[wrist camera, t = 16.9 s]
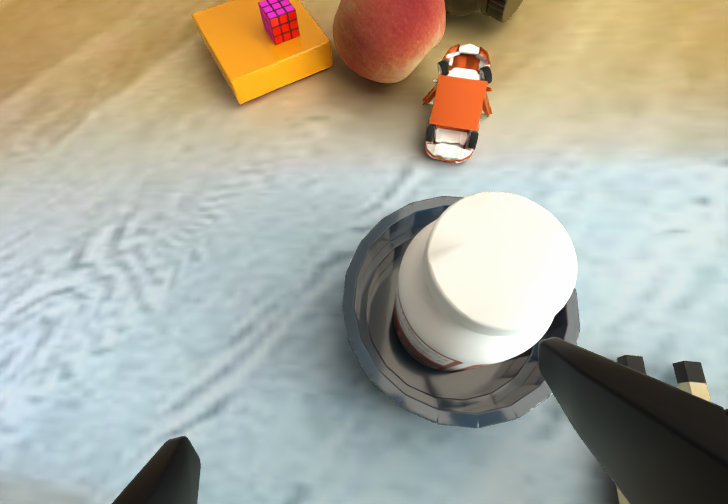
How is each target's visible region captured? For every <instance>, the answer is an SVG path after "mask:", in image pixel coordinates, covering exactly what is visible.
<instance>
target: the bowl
mask: <svg viewBox="0 0 728 504" xmlns="http://www.w3.org/2000/svg"><path fill="white" fill-rule="evenodd" d="M463 198H465V197H450V196H441V197H436V198H431V199H427V200H422V201H417V202H413V203H410V204H408V205H406V206H405V207H403V208H401V209H399V210H397V211H396V212H394V213H392V214H390V215H388V216H386V217H385V218H383V219H382V220H381V221H380V222H379V223H378V224H377V225H376V226H375V227H374V228H373V229H372V230H371V231H370V232H369V234H368V235H367V236H366V237H365V238H364V239H363V240H362V241H361V243H360V244H359V246H358V248H357V250H356V252H355V254H354V257H353V259H352V261H351V263H350V265H349V267H348V269H347V272H346V277H345V285H344V294H343V302H342V311H343V316H344V320H345V325H346V330H347V335H348V340H349V343H350V346H351V348H352V350H353V352H354V353H355V355H356V357H357V359H358V360H359V362H360V364H361V366H362V368H363V369H364V371H365V373H366V375H367V376H368V378H369V379H370V380H371V382H373V383H374V384H375V385H376V386H377V387H378V388H379V389H380V390H381V391H382V392H383V393H384V394H385V395H386V396H388V397H389V398H390V399H391V400H392V401H393V402H394V403H395V404H397V405H398V406H399V407H401V408H403V409H405V410H408V411H410V412H412V413H414V414H416V415H418V416H420V417H423V418H425V419H427V420H429V421H431V422H433V423H437V424H440V425H450V426H459V427H468V428H482V427H486V426H491V425H495V424H499V423H503V422H507V421H511V420H515V419H517V418H520V417H521V416H523V415H524V414H526V413H527V412H529V411H530V410H531V409H533V408H534V407H536V406H537V405H539V404H540V403H542V402H543V401H544V400H546V399H547V398H549V397H550V396H551V394H552V391H551V389H550V388H549V386H548V384H547V383H546V381H545V379H544V378H543V376H542V374H541V372H540V369H539V360H538V346H539V342H540V341H541V340H544V339H548V338H551V337H557V338H560V339H562V340H565V341H567V342H569V343H572V344H574V345H576V344H577V340H578V336H579V332H580V323H579V313H578V303H577V293H576V289H575V287H574V289H573V291H572V294H571V296H570V298H569V299H568V301H567V302H566V304H565V305H564V307H563V308H562V309H561V310H560V311H559V312H558V313H557V314H556V315H554V318H553V321H552V323H551V325H550V326H549V328H548V330H547V331H546V333H545V334H544V335H543V336H542V338H541V339H540V340H539V341H538V342H537V343H536V344H534V345H533V346H532V347H531V348H529V349H528V350H526V351H525V352H523V353H521V354H519V355H517V356H515V357H513V358H510V359H508V360H505V361H503V362H499V363H495V364H490V365H485V366H480V367H476V368H472V369H469V370H465V371H460V372H443V371H438V370H434V369H431V368H428V367H426V366H424V365H423V364H421V363H419V362H418V361H417V360H415V359H414V358H413V357H412V356H411V355H410V354H409V353H408V352H407V351H406V350H405V348H404V347H403V345H402V344H401V342H400V340H399V338H398V336H397V333H396V330H395V326H394V319H393V310H394V302H395V296H396V289H397V283H398V274H399V270H400V266H401V262H402V259H403V256H404V254H405V252H406V249H407V248H408V246H409V244H410V243H411V241H412V240H413V239H414V237H415V236H416V235H417V234H418V233H419V232H420V231H421V230H422V229H423V228H425V227H426V226H427V225H429V224H430V223H432V222H433V221H435V220H437V219H438V218H439V217H440V216H441V214H442V213H443V212H444V211H445V210H446V209H447V208H448V207H449V206H451V205H452V204H454V203H456V202H457V201H459V200H460V199H463Z"/></svg>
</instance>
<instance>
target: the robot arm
mask: <svg viewBox="0 0 728 504" xmlns="http://www.w3.org/2000/svg"><path fill="white" fill-rule="evenodd" d="M538 360H539V369H540V372H541V374H542V376H543V378H544V379H545V381H546V383H547V384H548V386H549V388H550V389H551V391H552V393H553V394H554V396H555V398H556V399H557V401H558V403H559V404H560V406H561V408H562V409H563V411H564V413H565V414H566V416H567V418H568V419H569V421H570V423H571V424H572V426H573V427H574V429H575V430H576V432H577V433H578V435H579V436H580V437H581V439H582V440H583V442H584V443H585V444H586V446H587V447H588V448H589V450H590V451H591V452H592V454H593V455H594V456H595V458H596V459H597V460H598V462H599V463H600V464H601V466H602V467H603V468H604V470H605V471H606V472H607V474H608V475H609V476H610V478H611V479H612V480H613V482H614V483H615V485H616V486H617V487H618V489H619V490H620V491H621V493H622V494H623V495H624V497H625V498H626V499H627V501H628V502H629V503H630V504H728V409H725V410H724V409H723V407H721V406H719V405H716V404H714V403H712V402H709V401H707V400H705V399H702V398H700V397H697V396H695V395H693V394H690V393H688V392H686V391H683V390H681V389H678V388H676V387H674V386H671V385H669V384H667V383H664V382H662V381H660V380H657V379H655V378H652V377H650V376H648V375H645V374H643V373H641V372H638V371H636V370H633V369H631V368H629V367H626V366H624V365H622V364H619V363H617V362H615V361H612V360H610V359H607V358H605V357H603V356H600V355H598V354H596V353H593V352H591V351H588V350H586V349H584V348H581V347H579V346H577V345H574V344H572V343H569V342H567V341H565V340H562V339H560V338H557V337H551V338H548V339H544V340H541V341H540V342H539V346H538ZM200 469H201V463H200V459H199V456H198V454H197V453H196V451H195V449H194V447H193V446H192V444H191V442H190V441H189V439H188V438H187V437H186V436H181V437H177V438H173V439H170V440H168V441H166V442H165V443H164V445H163V446H162V447H161V448H160V449H159V450H158V451H157V453H156V454H155V455H154V456H153V457H152V458H151V459H150V461H149V462H148V463H147V464H146V465H145V466H144V467H143V468H142V470H141V471H140V472H139V473H138V474H137V475H136V476H135V478H134V479H133V480H132V481H131V482H130V483H129V484H128V486H127V487H126V488H125V489H124V490H123V491H122V492H121V494H120V495H119V496H118V497H117V498H116V499H115V500H114V502H113V503H112V504H197V500H198V490H199V479H200Z"/></svg>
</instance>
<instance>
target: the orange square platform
mask: <svg viewBox="0 0 728 504" xmlns="http://www.w3.org/2000/svg"><path fill="white" fill-rule="evenodd" d="M192 18H193V20H194V22H195V24H196V27H197V29H198V31H199V33H200V36H201V38H202V40H203V42H204V44H205V45H206V47H207V49H208V51H209V52H210V54H211V56H212V57H213V59H214V61H215V63H216V64H217V66H218V68H219V70H220V71H221V73H222V75H223V77H224V78H225V80H226V82H227V84H228V85H229V87H230V89H231V91H232V92H233V94H234V96H235V97H236V99H237V101H238V103H239V104H242V103H244V102H247V101H249V100H252V99H254V98H257V97H259V96H261V95H264V94H266V93H269V92H271V91H273V90H276V89H278V88H281V87H283V86H286V85H288V84H290V83H293V82H295V81H298V80H300V79H303V78H305V77H307V76H310V75H312V74H315V73H317V72H319V71H322V70H324V69H327V68H329V67H332V65H333V64H332V53H331V42H330V41H329V39H328V38H327V37H326V35H325V34H324V33H323V31H322V30H321V29H320V27H319V26H318V25H317V23H316V22H315V21H314V19H313V18H312V17H311V15H310V14H309V13H308V11H307V10H306V9H305V7H304V6H303V5H302V3H301V2H300V1H299V0H231V1H228V2H225V3H222V4H219V5H217V6H214V7H211V8H208V9H205V10H202V11H200V12H197V13H194V14H192Z"/></svg>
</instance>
